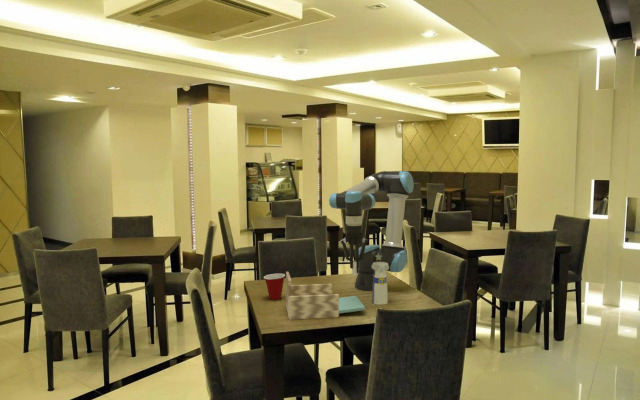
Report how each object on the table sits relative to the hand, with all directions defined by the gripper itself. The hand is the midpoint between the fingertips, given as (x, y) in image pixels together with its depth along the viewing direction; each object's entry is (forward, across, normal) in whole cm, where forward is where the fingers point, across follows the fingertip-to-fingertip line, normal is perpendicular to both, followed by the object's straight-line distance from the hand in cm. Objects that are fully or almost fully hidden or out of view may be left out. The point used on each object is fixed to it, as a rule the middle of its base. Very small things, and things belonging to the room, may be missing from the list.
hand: (354, 275), depth 218 cm
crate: (+16, -20, 0) cm, 26 cm away
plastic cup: (+16, -36, +24) cm, 46 cm away
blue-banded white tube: (+17, +15, +9) cm, 24 cm away
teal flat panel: (+14, -9, 0) cm, 17 cm away
